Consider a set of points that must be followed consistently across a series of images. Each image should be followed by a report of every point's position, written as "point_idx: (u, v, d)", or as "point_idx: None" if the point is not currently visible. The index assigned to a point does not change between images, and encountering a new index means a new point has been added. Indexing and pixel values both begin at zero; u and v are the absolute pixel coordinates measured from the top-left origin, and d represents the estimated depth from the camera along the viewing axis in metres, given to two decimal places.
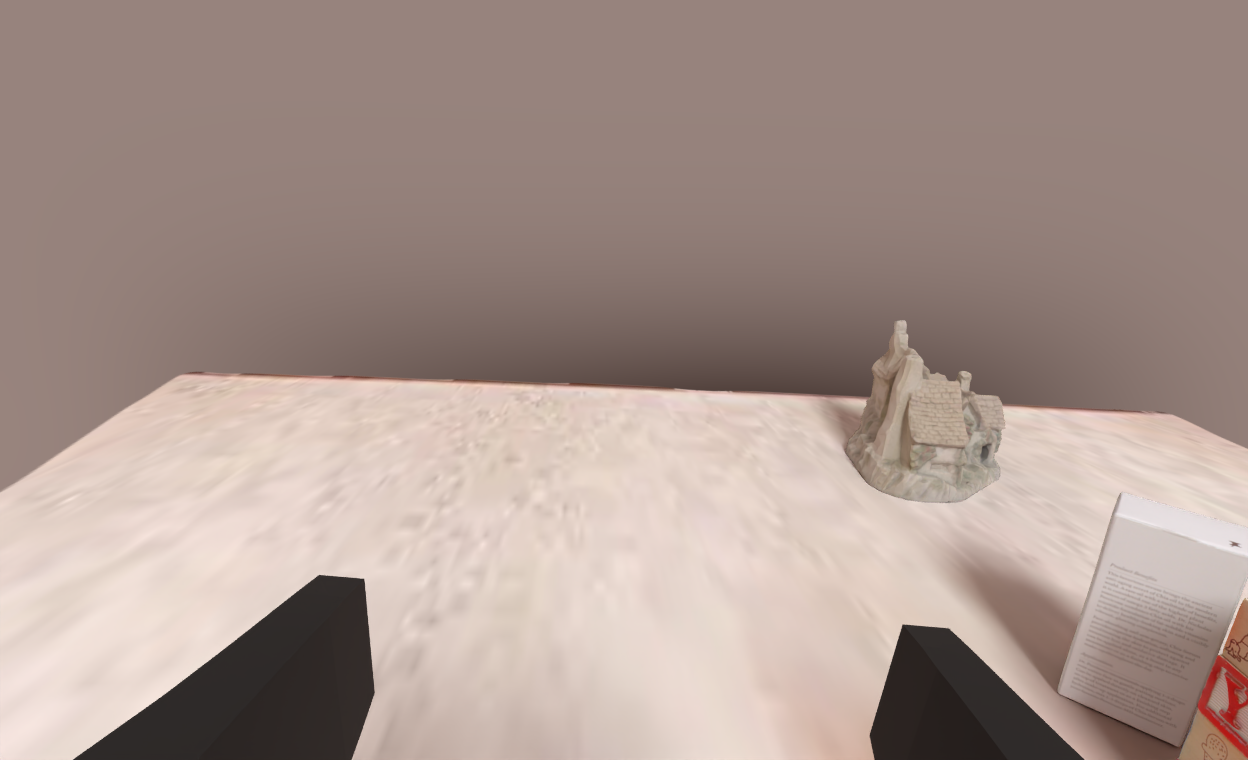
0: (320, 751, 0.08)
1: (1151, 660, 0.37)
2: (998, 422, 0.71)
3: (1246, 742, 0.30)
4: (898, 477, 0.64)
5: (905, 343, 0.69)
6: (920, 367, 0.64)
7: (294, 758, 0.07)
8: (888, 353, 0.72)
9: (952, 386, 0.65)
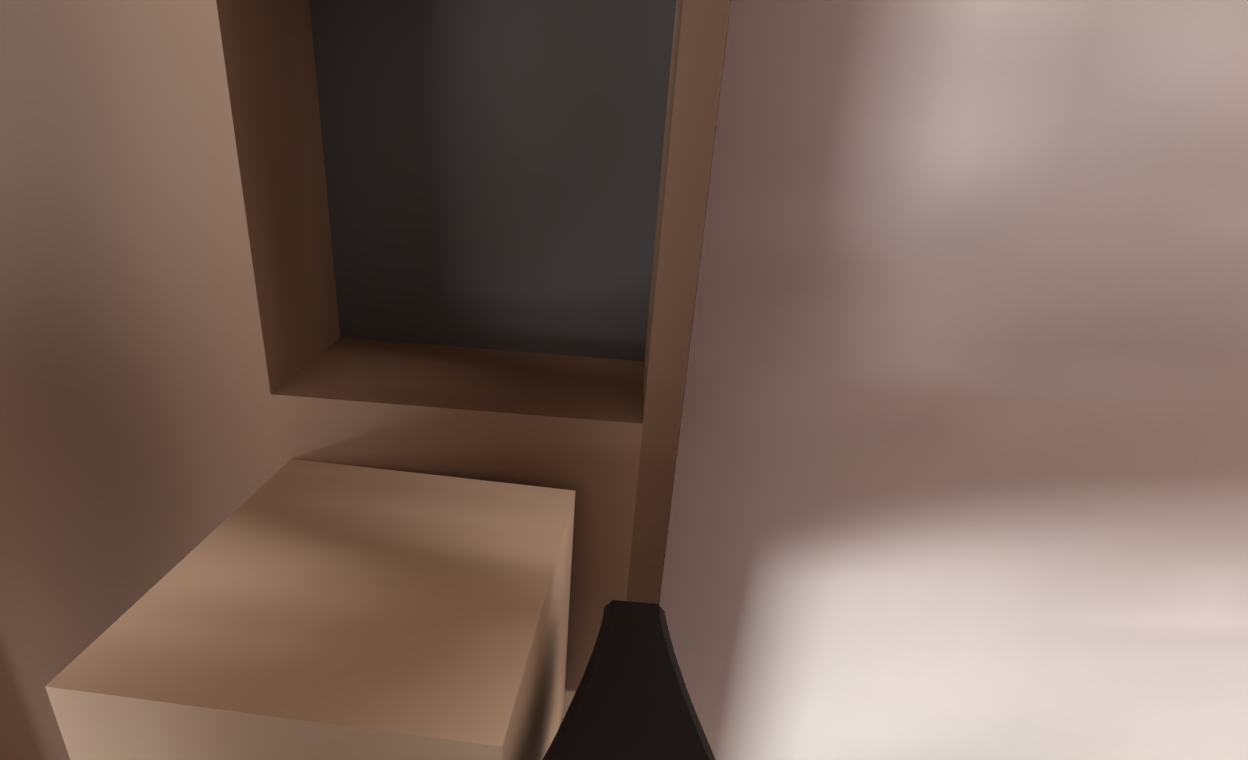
0: None
1: None
2: None
3: None
4: None
5: None
6: None
7: None
8: None
9: None
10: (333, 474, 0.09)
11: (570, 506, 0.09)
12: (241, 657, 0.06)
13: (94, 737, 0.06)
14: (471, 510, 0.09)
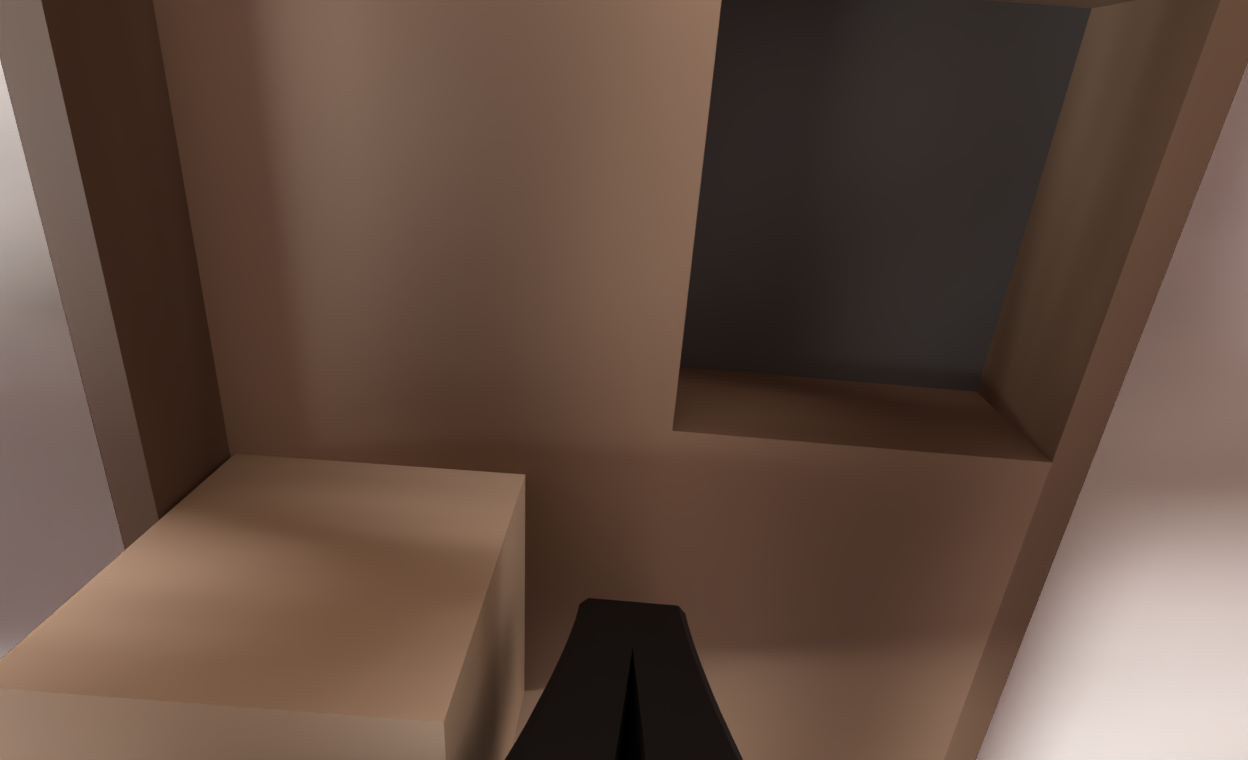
0: None
1: None
2: None
3: None
4: None
5: None
6: None
7: None
8: None
9: None
10: (277, 467, 0.09)
11: (519, 489, 0.09)
12: (178, 648, 0.06)
13: (26, 735, 0.06)
14: (419, 497, 0.09)
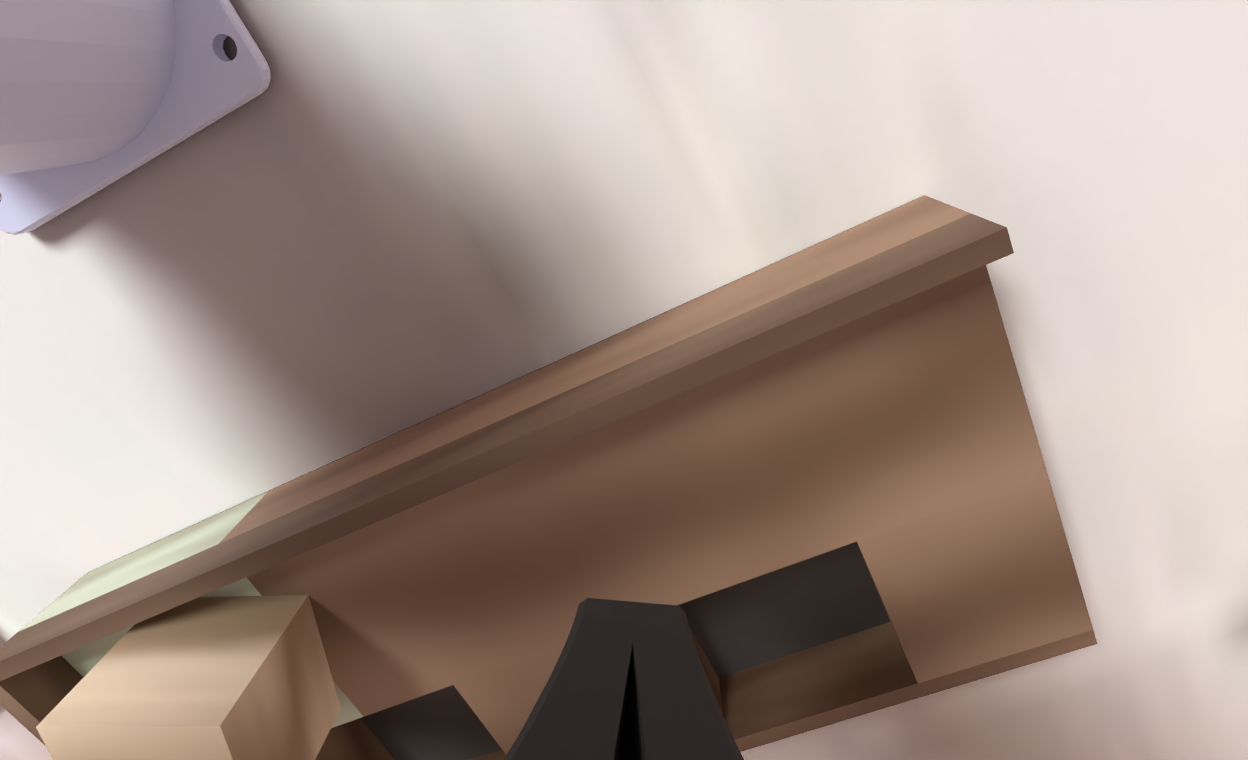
0: None
1: None
2: None
3: None
4: None
5: None
6: None
7: None
8: None
9: None
10: (310, 624, 0.18)
11: None
12: (252, 749, 0.15)
13: (198, 737, 0.14)
14: (319, 697, 0.18)
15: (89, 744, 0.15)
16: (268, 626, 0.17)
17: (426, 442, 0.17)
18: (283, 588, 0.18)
